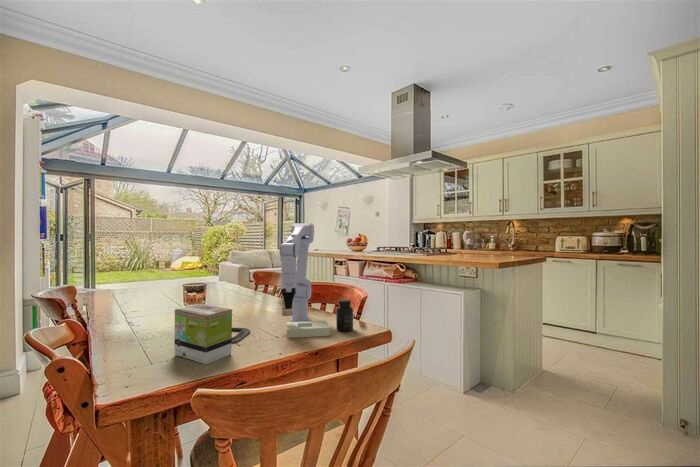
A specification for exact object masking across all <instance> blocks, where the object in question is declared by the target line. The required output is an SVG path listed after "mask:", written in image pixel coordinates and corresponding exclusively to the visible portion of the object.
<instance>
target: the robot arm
mask: <svg viewBox="0 0 700 467" xmlns="http://www.w3.org/2000/svg"><path fill="white" fill-rule="evenodd" d="M290 232H291V233H290V235H289V236H287V238H286V240H285V242H282V243H281V244H280V245H279V258H280V263H281V271H280V272H281V276H280V278H281V279H280V280H281V283H278V284H277V286H278V287H281V291H280V293H281V296H282V295H283V298H284V303H285V308H286V309H291V307H292V302H293V315H291V316H289V317H290V322H302V321H310V319H309V314H308V312H309V311H308V310H309V308H308V306H309V304H308V303H309V301H308V300H310V299H311V298H312V283H311V281H310V280H309V279H308V278H307V270H308V257H309V248H310V244H312V243H313V242H314V238H315V237H314V236H315V235H314V234H315V225H314V224H313V222H310V223H308V222H307V223H299V222H297V223H296V222H293V223H292V224H291V228H290Z"/></svg>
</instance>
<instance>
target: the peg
mask: <svg viewBox="0 0 700 467" xmlns="http://www.w3.org/2000/svg"><path fill="white" fill-rule="evenodd" d="M281 304H282V305H281V310H282V311H281V312H282V313H281V314H282V316H283V317H290V316H291V315H293V302H292V307H291V309H286V308H285V303H284V298H283V295H282V294H281Z"/></svg>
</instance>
